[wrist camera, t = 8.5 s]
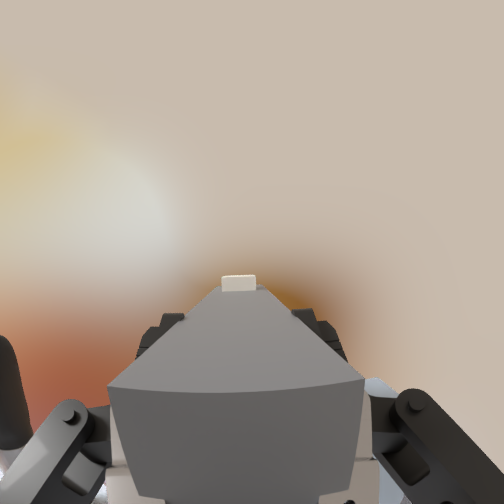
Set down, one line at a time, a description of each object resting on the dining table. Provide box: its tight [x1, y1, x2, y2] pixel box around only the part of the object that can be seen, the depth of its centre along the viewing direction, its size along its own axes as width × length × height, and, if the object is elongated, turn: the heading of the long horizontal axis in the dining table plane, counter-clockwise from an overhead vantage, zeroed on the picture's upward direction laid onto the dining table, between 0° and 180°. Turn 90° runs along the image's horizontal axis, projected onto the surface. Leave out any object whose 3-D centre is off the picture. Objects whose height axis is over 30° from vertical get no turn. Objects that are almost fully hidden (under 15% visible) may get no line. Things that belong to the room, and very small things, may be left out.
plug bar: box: [107, 275, 365, 504], centre depth 15 cm, size 22×4×5 cm, turn 2°
